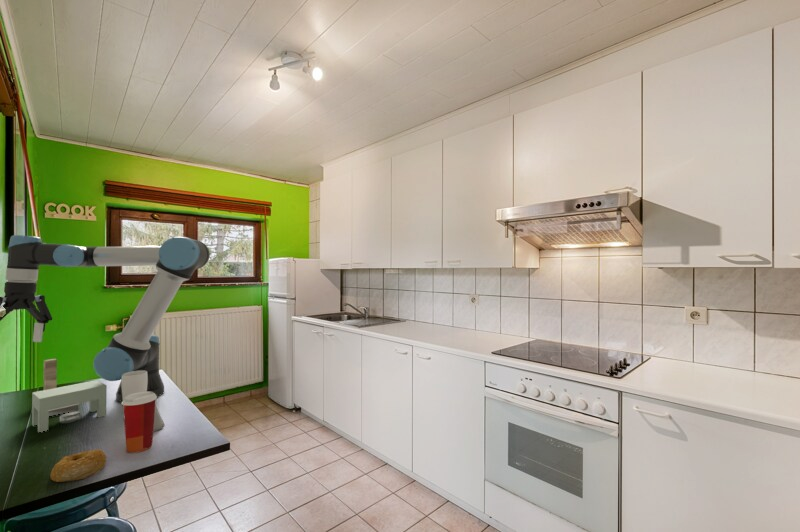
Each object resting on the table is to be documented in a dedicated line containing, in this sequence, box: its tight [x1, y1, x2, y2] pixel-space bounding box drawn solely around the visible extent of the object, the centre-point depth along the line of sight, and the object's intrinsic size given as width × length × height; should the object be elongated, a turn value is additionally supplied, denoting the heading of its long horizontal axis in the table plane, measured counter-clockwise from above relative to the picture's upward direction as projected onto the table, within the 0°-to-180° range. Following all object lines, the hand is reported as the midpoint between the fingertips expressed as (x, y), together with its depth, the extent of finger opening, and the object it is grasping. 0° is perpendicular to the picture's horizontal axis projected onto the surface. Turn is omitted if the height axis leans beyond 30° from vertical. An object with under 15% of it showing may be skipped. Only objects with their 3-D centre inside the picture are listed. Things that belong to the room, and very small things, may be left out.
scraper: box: [42, 358, 79, 417], centre depth 128 cm, size 20×8×16 cm, turn 54°
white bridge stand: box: [31, 379, 108, 433], centre depth 117 cm, size 10×16×10 cm, turn 144°
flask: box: [153, 394, 165, 433], centre depth 110 cm, size 7×7×10 cm
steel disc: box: [59, 411, 82, 424], centre depth 117 cm, size 5×5×2 cm
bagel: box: [49, 448, 107, 483], centre depth 86 cm, size 10×11×5 cm
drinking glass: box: [120, 370, 148, 410], centre depth 117 cm, size 7×7×15 cm
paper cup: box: [120, 391, 158, 454], centre depth 98 cm, size 8×8×14 cm
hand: (14, 345), depth 122 cm, fingers open, 13 cm apart
